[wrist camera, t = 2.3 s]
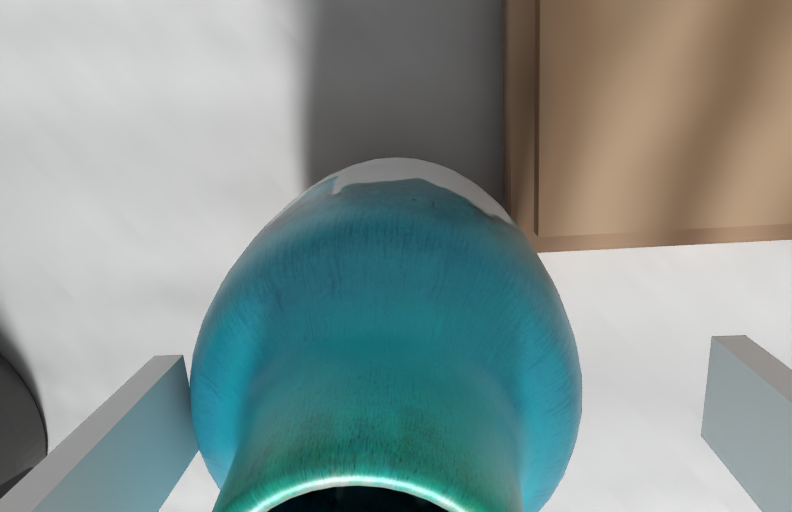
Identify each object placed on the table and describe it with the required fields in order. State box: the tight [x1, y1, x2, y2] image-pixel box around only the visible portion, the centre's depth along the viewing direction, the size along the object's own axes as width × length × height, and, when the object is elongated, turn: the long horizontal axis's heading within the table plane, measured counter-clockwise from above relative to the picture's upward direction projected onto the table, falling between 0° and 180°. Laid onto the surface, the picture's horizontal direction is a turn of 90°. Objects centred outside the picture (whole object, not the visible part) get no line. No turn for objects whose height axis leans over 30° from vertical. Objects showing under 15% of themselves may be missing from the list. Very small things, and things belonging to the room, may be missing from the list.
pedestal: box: [502, 0, 792, 253], centre depth 22 cm, size 16×16×3 cm
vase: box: [190, 157, 582, 512], centre depth 17 cm, size 11×11×19 cm
